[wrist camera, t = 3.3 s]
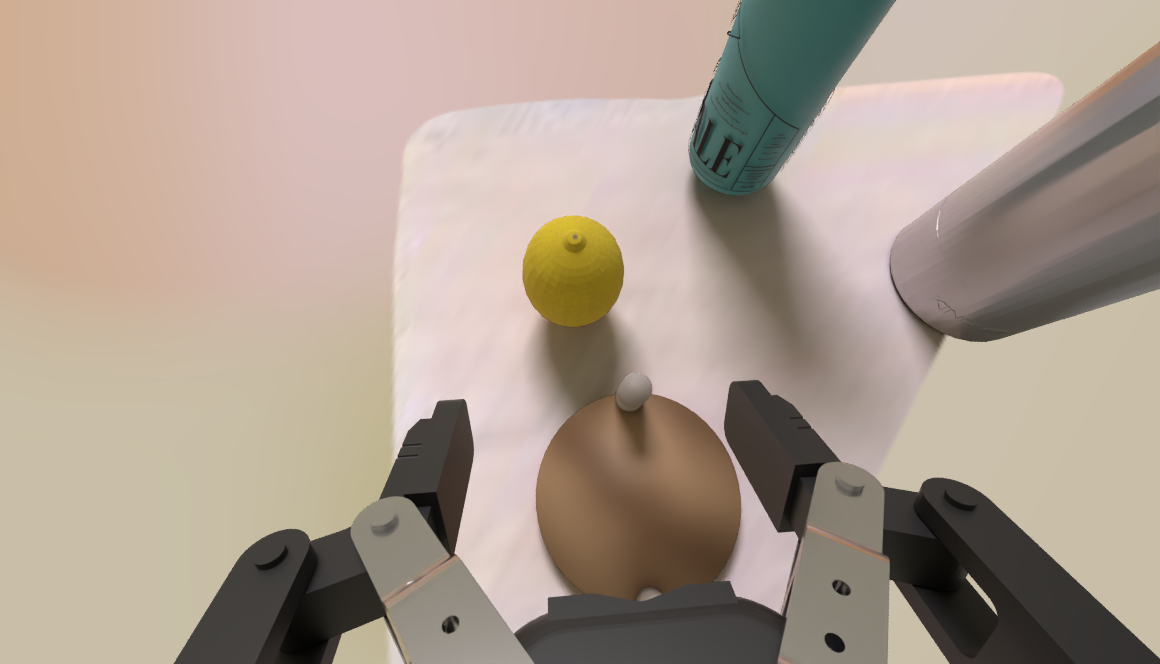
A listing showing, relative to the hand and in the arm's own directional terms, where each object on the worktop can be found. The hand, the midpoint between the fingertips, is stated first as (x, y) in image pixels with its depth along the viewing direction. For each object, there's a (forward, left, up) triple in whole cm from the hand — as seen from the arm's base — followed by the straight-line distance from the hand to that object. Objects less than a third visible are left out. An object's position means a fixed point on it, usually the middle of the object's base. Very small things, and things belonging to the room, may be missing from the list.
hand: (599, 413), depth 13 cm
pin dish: (+1, +4, -12) cm, 13 cm away
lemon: (-7, -5, -13) cm, 15 cm away
